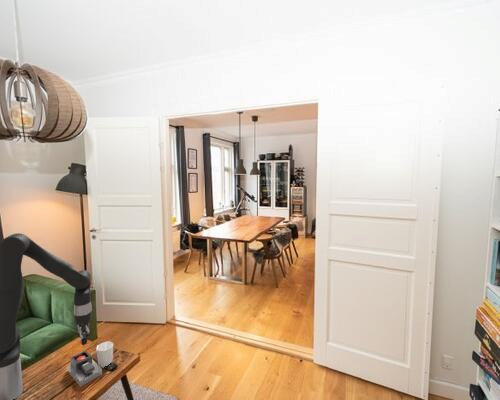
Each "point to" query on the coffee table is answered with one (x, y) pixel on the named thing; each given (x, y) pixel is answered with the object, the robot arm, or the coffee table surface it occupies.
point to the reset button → (80, 358)
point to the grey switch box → (78, 373)
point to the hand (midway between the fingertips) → (84, 343)
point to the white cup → (104, 353)
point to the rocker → (87, 367)
